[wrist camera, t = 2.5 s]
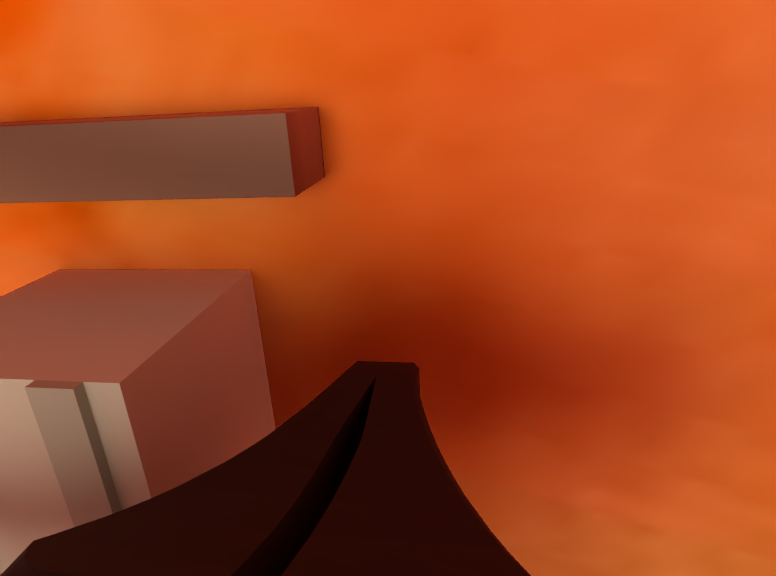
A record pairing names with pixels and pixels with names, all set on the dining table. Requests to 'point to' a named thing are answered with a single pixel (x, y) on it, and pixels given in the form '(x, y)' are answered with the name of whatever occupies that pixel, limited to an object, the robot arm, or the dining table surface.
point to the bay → (162, 156)
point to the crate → (122, 391)
